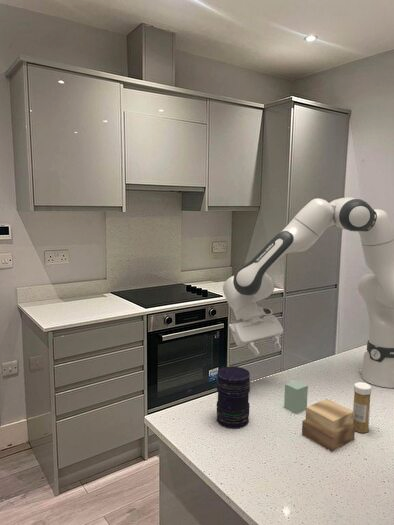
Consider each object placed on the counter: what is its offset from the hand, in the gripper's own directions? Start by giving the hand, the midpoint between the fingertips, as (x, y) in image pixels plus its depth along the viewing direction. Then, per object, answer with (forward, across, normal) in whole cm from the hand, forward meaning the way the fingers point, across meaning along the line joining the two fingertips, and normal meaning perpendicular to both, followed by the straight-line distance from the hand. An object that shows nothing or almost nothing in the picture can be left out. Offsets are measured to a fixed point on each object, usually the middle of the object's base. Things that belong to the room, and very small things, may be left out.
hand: (268, 351), depth 137 cm
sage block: (+19, 0, +2) cm, 19 cm away
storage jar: (+15, -21, +6) cm, 27 cm away
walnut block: (+31, -5, -9) cm, 33 cm away
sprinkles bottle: (+33, +6, -11) cm, 35 cm away
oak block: (+28, -5, -12) cm, 31 cm away
